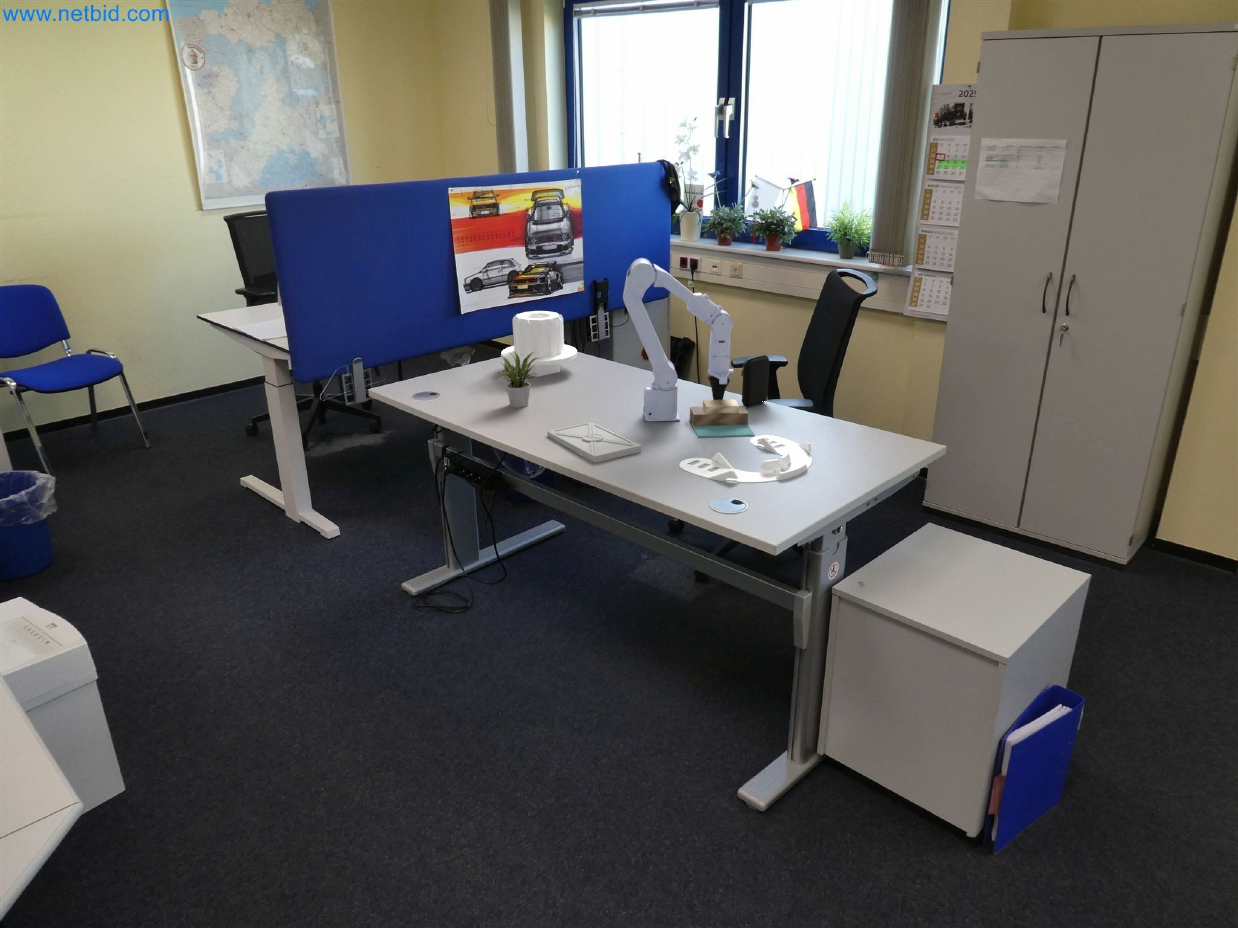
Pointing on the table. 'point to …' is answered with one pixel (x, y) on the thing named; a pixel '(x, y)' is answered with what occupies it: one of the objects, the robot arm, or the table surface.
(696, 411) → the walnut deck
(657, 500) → the table surface
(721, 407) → the cream rectangular block
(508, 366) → the house plant
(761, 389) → the carrying case or bag
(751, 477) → the cable organizer
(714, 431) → the teal mat
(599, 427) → the envelope
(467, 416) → the table surface
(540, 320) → the flanged gear
